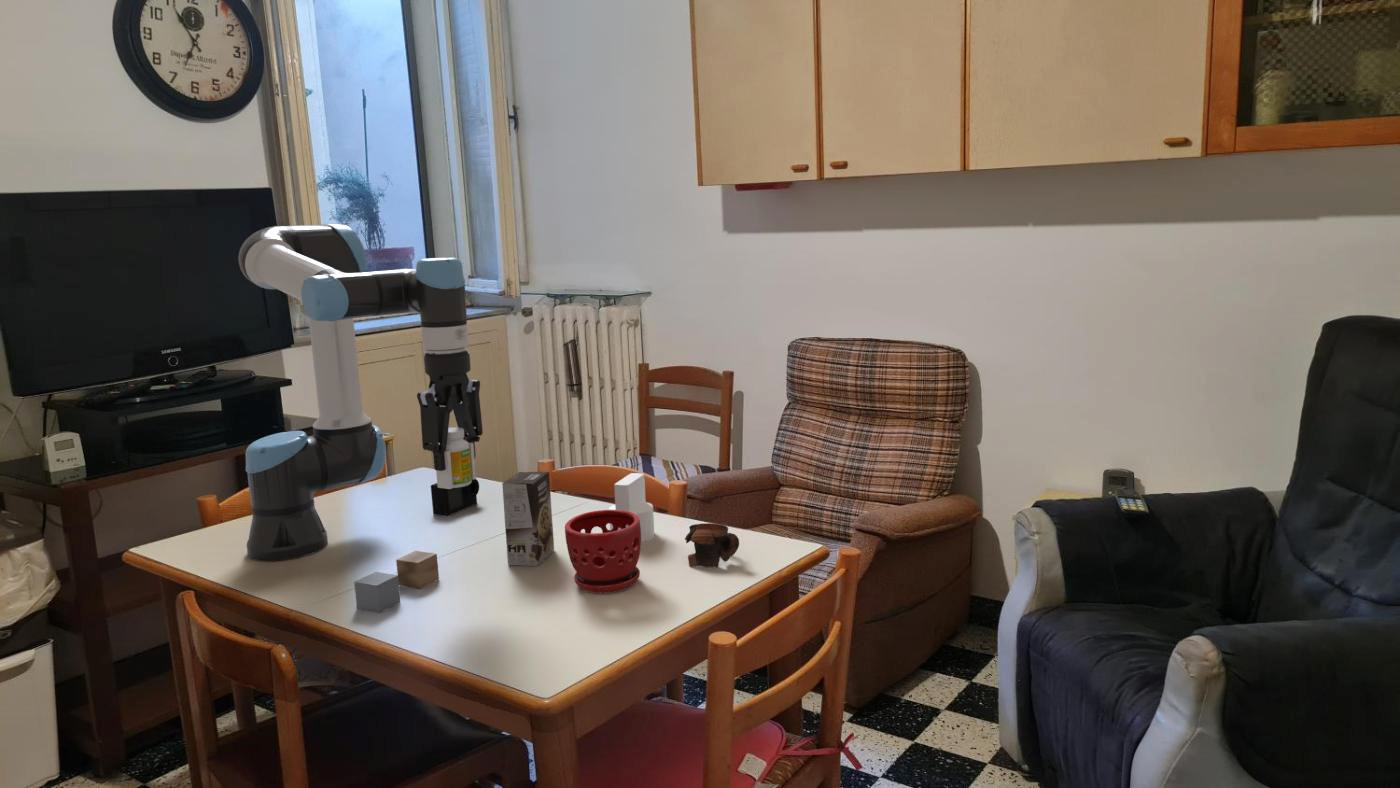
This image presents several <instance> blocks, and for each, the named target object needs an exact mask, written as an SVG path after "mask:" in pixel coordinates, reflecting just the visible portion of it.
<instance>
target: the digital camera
mask: <svg viewBox="0 0 1400 788" xmlns="http://www.w3.org/2000/svg"><path fill="white" fill-rule="evenodd" d="M479 491H480V483H479V481H478V479H477V478H476V479H474V480H472V482H471V483H470V484H469V485H467V486H464V487H459V488H452V489H445V488H438V485H437V482H435V483H433V484H430V492H431V493H430V494H431V504H432V513H433V515H434V514H436V516H442V515H446V516H445V517H449V515H450V516H451V514H452V515H454V514H457V513H458V511H459V512H461V511H463V510H465V509H467V508H470V507H472V506H474V505H476V504H478V498H477V496H478V494H479ZM456 512H457V513H456ZM453 513H454V514H453Z"/></svg>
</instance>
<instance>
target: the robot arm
mask: <svg viewBox="0 0 1400 788" xmlns="http://www.w3.org/2000/svg"><path fill="white" fill-rule="evenodd" d="M238 264H239V268H240V269H239V270H240V271H241V272H242V274H243V276H244V277H245V278H246V279H247V280H248V281H249V282H251V283H252V284H254V285H256V286H257V287H259V288H263V289H266V290H278V291H281V292H283V293H284V294H286V295H289V296H290V297H293V298H294V299H296V300H299V301H301V302H302V306H303V307H302V308H303V310H304V311H305V313H306V315H307V316H308V317H307V318H308V326H309V334H310V343H311V351H312V362H313V368H314V369H313V370H314V371H313V372H314V378H315V386H316V387H315V388H316V389H315V390H316V397H317V407H318V413H319V414H318V415H319V417H318V418H317V419H316V420H315V421H314V423H313V424H312V432H313V434H312V435H309V436H308V435H307V433H306V432H305V431H303V430H289V431H286V432H285V431H282V432H277V433H273V434H270V435H266V436H264V437H261V438H259V439H257V440H255V441H253V442H252V443H250V444H249V445H248V447H247V448H246V450H245V472H246V473H247V475H246V476H247V483H248V490H249V497H250V498H249V499H250V505H251V514H252V518H251V524H250V527H249V535H248V539H247V542H246V551H247V557H248V558H250V559H252V560H255V561H260V562H261V561H262V562H272V561H273V562H276V561H287V560H293V559H297V558H302V557H306V556H309V555H312V554H314V553H317V552H318V551H321V550H323V549H325V548H326V546H327V545H328V543H329V541H328V533H327V530H326V529H325V527H324V524H323V522H322V520H321V518H320V516H319V514H318V512H317V510H316V505H315V499H314V498H315V497H314V496H315V495H314V494H315V493H318V492H319V493H320V492H324V491H328V490H333V489H337V488H343V487H346V486H347V487H348V486H351V485H359V484H362V483H364V482H368V481H372V480H374V479H376V478H377V477H378V476H379V475H380V474H381V472H382V471H383V468H384V466H385V461H386V455H387V453H386V452H387V450H386V442H385V441H386V440H385V439H384V437H383V432H382V430H381V428H379V426H378V425H374V424H373V421H372V418H371V417H370V416H368V415H367V414H366V413H365V412H364V409H363V398H362V389H361V381H360V380H361V379H360V370H359V360H358V351H357V342H356V331H355V323H354V319H358V318H368V317H378V316H390V315H391V316H392V315H400V314H401V315H402V314H410V313H411V314H413V313H414V314H416V313H418V314H419V315H420V330H421V340H422V342H421V344H422V349H423V350H424V351H426V352H425V353H424V354H423V365H424V373H425V374H426V375H427V376H428V377H429V383H428V389H427V390H425V391H424V392H423V391H422V392H421V391H420V392H417V394H416V397H417V398H416V399H417V401H418V404H419V409H420V410H419V411H420V427H421V442H422V449H423V450H424V451H428V452H432V456H433V457H432V458H433V467H434V470H435V471H436V472H435V473H436V483H437V485H438V488H445V489H452V488H453V481H452V469H451V457H450V451H446V446H447V437H448V428H450V427H449V426H450V416H451V415H450V414H451V412H453V415H454V418H455V420H456V421H455V422H456V425H457V427H459V428H463V429H464V438H463V440H466V441H467V442H468V443H469V449H470V463H471V477H472V480H474V479H477V477H476V476H477V473H476V472H477V471H476V460H475V459H476V443H478V442H480V439H481V437H480V436H483V422H482V412H481V402H480V388H481V382H480V380H475V379H469V376H468V373H470V371H471V369H472V368H471V355H470V354H471V353H470V351H469V350H468V349H467V348H468V346H469V337H468V336H469V335H468V334H469V333H468V320H467V318H468V317H467V316H468V315H467V300H466V299H467V298H466V279H465V277H464V270H463V263H462V261H461V260H460V259H459V258H457V257H431V258H430V257H429V258H422V259H421V258H420V259H419V260H418V261H417V262H416V268H413V267H405V268H404V267H403V268H401V267H400V268H396V269H389V270H379V271H378V270H377V271H367V269H368V261H367V255H366V250H365V248H364V244H363V242H362V240H361V238H360V237H359V236H358V233H356V231H355V230H354V229H353V228H351V227H350V226H348V225H345V224H331V223H324V224H307V225H306V224H302V225H274V226H268V227H265V228H262V229H260V230H257V231H256V232H254V233H252V234H251V235H250V236H248V238H246V239H245V240H244V242H243V243H242V245H241V247H240V249H239V253H238ZM439 443H440V444H439Z"/></svg>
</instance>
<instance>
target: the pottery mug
mask: <svg viewBox="0 0 1400 788" xmlns="http://www.w3.org/2000/svg"><path fill="white" fill-rule="evenodd" d="M688 529H689V532H688V533H687V534H686V536H685V537H684V540H685V543H686V544H689V543H690V542H692V543H693V545H694V546H693V547H694V550H695V552H694V553H691V554H688V555H687V560H688V566H689V567H690V568H691V567H704V568H719V566H720V559H722V561H723V562H728V561H730V558H731V557H733V556H734V555H735V554H736V553H737V551H738V549H739V546H740V539H739V537H738V535H737V534H734V533H732V532H729V527H728V526H727V525H724V524H721V523H712V522H711V523H710V522H709V523H708V522H707V523H694V524H692V525H690V526H689V527H688Z"/></svg>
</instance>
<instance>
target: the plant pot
mask: <svg viewBox="0 0 1400 788" xmlns="http://www.w3.org/2000/svg"><path fill="white" fill-rule="evenodd" d="M608 524H609V525H610V524H612V525H613V529H612V530H610V529H608V528H607V525H608ZM626 525H628V527H626ZM593 528H600V529H601V530H602V531H601V533H600V532H599V533H598V532H597V533H595V532H594V533H593V532H592V530H593ZM618 528H621V530H618ZM582 530H584V532H581V531H582ZM564 534H565V542H566V547H567V552H568V556H569V560H570V562H571V565H572V567H573V569H574V571H575V574H574V576H573V577H574V578H573V579H574V583H575V585H577V587H579V588H580V589H582V590H584V591H586V592H588V593H593V594H611V593H616V592H620V591H621V592H622V591H623V592H624V591H625V590H626V589H628V588H630V587H632V586H633V585H635V584H636V582H637V581H638V580H639V578H640V576H641V574H640V573H641V572H640V569H639V567H637V565H638V562H639V560H640V554H641V547H642V542H641V527H640V520H639V517H638V516H637V515H636V514H634V513H632V512H628V511H623V510H609V509H602V510H593V511H588V512H584V513H581V514H578V515H576V516H574V517H571V519H569V520H568V521H566V523H565V525H564ZM633 542H634V543H633Z"/></svg>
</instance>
